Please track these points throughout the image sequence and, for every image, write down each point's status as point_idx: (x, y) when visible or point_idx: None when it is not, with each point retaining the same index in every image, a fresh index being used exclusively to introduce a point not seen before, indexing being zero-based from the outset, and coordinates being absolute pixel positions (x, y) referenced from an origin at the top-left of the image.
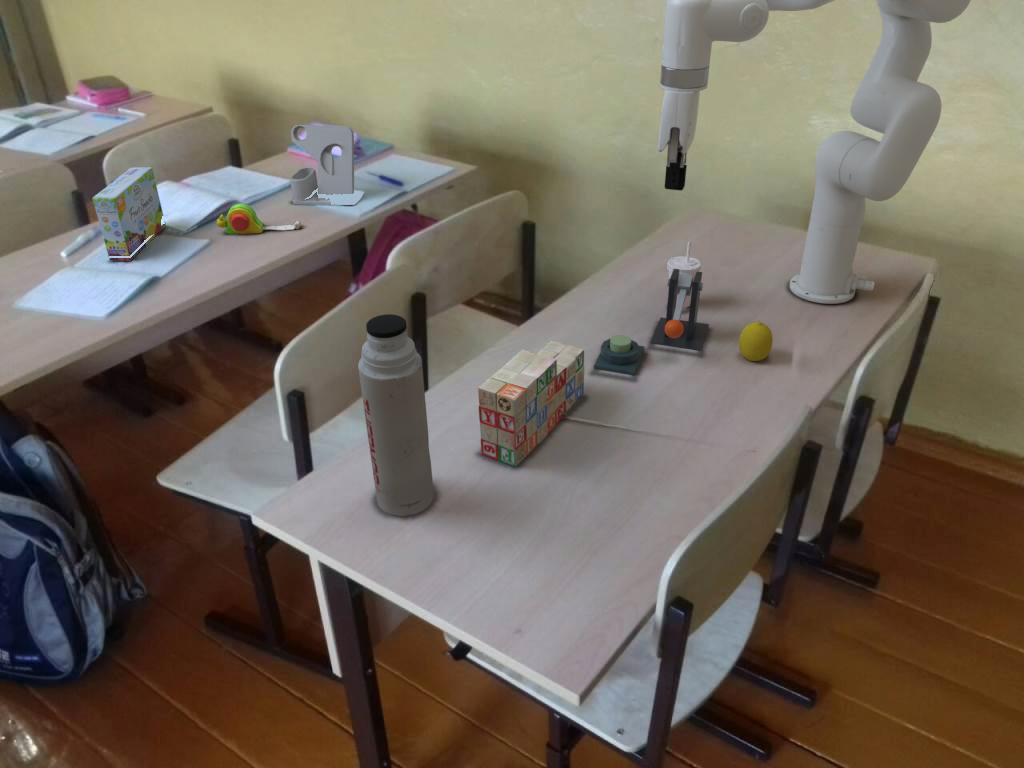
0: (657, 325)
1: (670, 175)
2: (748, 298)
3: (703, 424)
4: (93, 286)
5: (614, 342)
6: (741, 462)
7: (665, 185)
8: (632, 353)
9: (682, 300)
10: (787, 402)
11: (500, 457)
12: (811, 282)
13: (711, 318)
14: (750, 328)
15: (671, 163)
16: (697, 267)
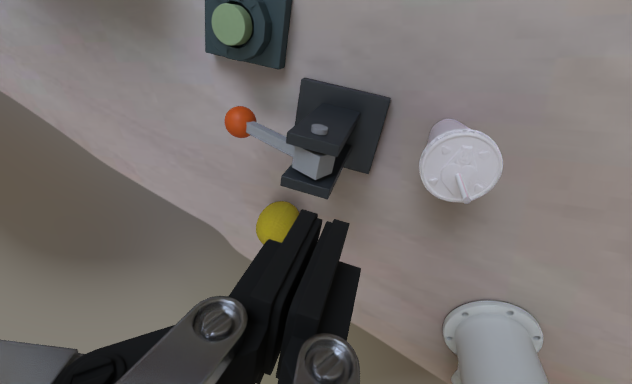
0: (359, 92)
1: (244, 275)
2: (474, 243)
3: (156, 136)
4: None
5: (217, 12)
6: (116, 163)
7: (296, 218)
8: (219, 48)
9: (277, 146)
10: (219, 223)
11: None
12: (471, 331)
13: (406, 180)
14: (263, 227)
15: (149, 343)
16: (431, 192)
